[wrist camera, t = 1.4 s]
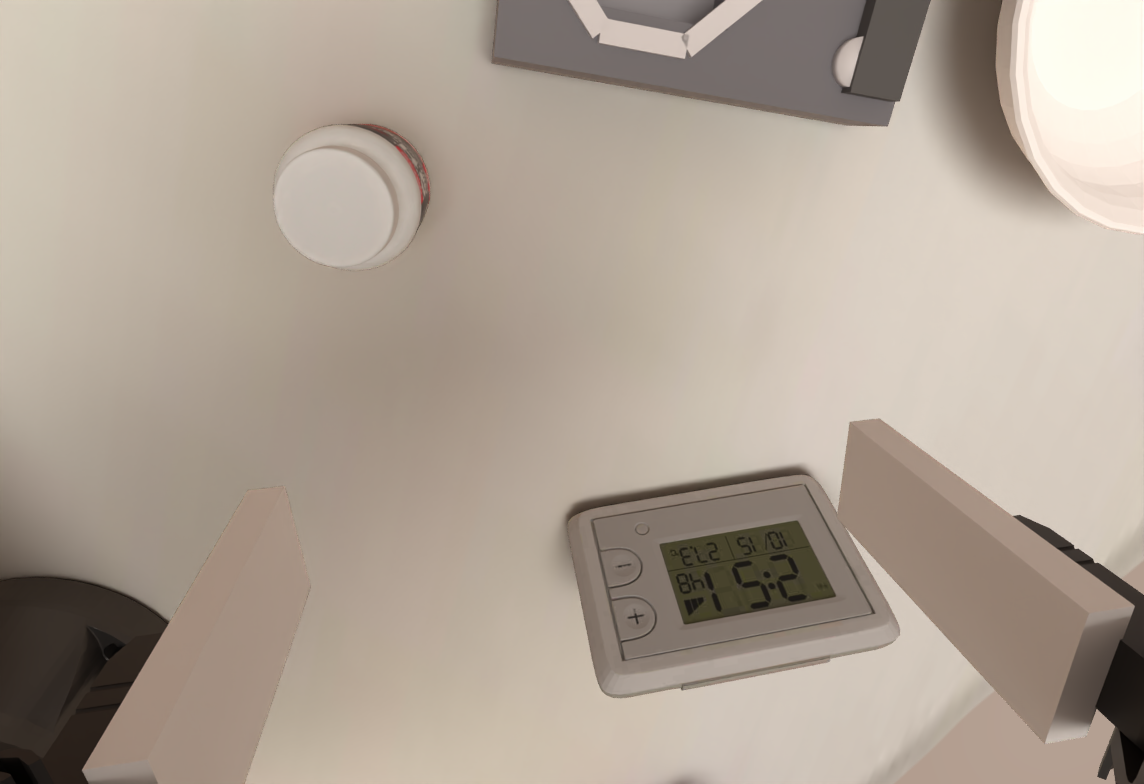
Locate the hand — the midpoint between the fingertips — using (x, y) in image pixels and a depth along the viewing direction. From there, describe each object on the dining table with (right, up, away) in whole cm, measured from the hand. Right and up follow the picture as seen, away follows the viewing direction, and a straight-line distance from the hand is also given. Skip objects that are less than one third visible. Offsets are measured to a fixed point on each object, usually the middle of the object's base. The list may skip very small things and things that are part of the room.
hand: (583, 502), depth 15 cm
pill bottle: (-10, +13, +16) cm, 22 cm away
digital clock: (+7, -5, +26) cm, 28 cm away
